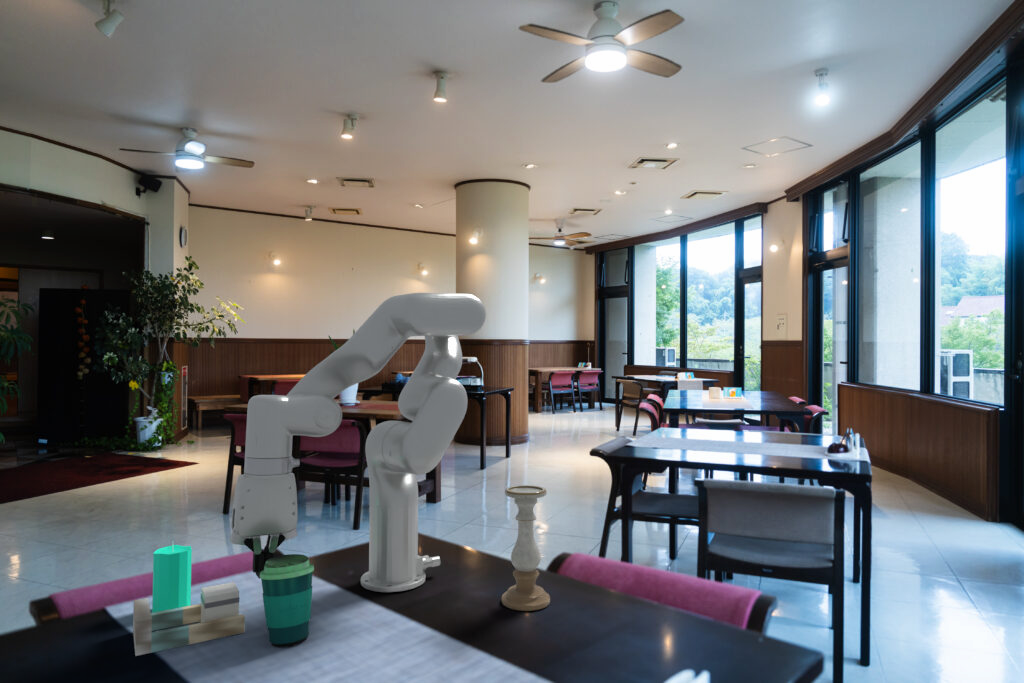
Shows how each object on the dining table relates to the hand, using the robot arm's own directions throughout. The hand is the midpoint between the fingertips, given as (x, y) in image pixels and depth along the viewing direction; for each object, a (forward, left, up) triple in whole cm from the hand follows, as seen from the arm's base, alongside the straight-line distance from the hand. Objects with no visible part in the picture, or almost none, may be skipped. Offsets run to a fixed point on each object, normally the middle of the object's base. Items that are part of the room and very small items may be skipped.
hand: (262, 575), depth 106 cm
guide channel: (+10, 0, -7) cm, 13 cm away
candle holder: (-42, +19, -7) cm, 46 cm away
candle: (+12, -12, -7) cm, 19 cm away
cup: (-2, +10, -7) cm, 13 cm away
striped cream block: (+6, 0, -7) cm, 10 cm away
